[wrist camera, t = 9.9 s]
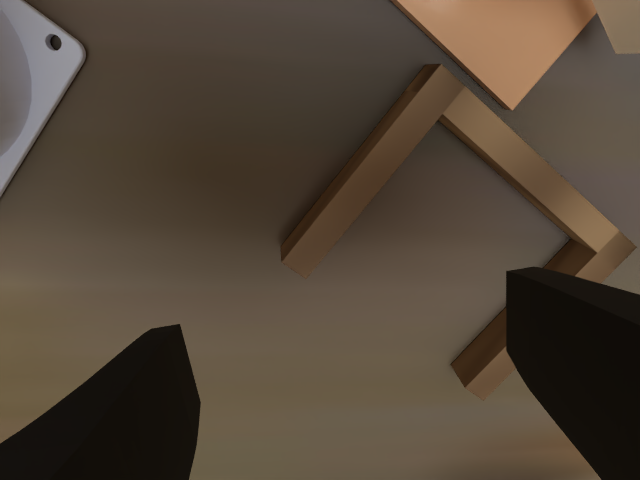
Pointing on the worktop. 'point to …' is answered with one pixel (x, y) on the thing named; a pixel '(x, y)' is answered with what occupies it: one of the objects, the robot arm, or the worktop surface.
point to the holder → (498, 152)
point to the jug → (621, 23)
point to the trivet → (501, 38)
